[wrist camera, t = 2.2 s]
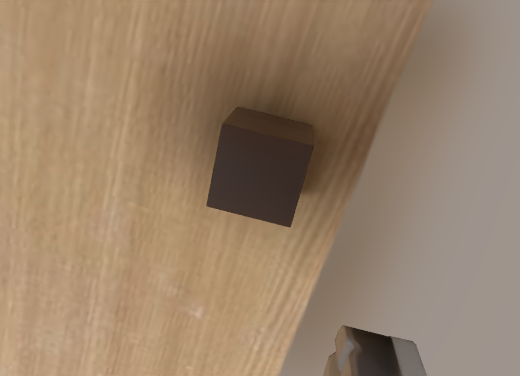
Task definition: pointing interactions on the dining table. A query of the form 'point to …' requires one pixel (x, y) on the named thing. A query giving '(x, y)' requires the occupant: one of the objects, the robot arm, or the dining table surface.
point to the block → (260, 166)
